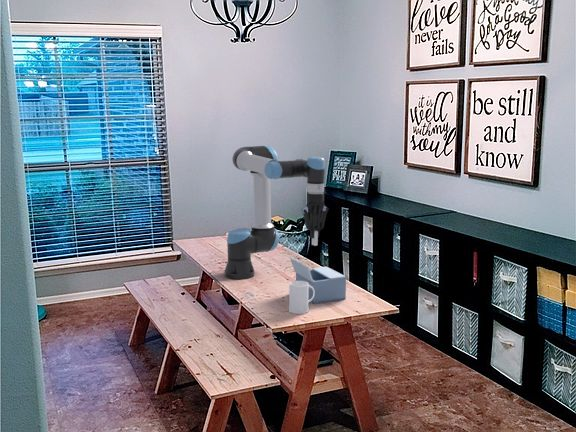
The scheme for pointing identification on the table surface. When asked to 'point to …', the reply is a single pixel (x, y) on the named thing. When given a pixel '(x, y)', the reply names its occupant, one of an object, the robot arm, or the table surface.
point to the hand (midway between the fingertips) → (314, 244)
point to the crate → (324, 288)
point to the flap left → (301, 269)
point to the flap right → (328, 272)
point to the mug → (299, 297)
